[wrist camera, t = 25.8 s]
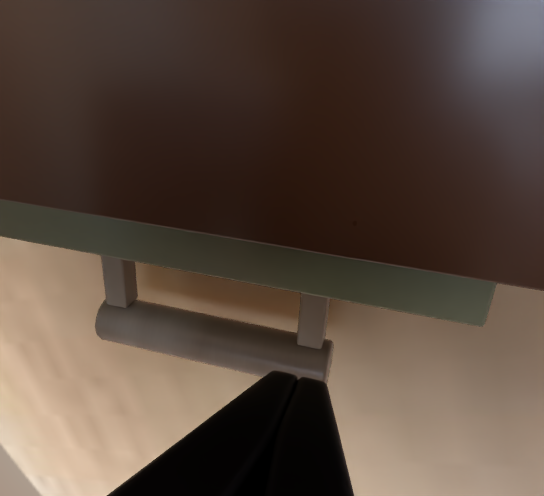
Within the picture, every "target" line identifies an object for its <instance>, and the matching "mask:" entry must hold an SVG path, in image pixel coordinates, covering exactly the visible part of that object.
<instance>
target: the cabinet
mask: <svg viewBox="0 0 544 496" xmlns="http://www.w3.org/2000/svg"><path fill="white" fill-rule="evenodd" d="M0 200H4V201H10V202H16V203H22V204H28V205H34V206H40V207H46V208H52V209H58V210H64V211H70V212H76V213H82V214H88V215H94V216H100V217H106V218H112V219H118V220H124V221H130V222H136V223H141V224H147V225H153V226H159V227H165V228H171V229H177V230H183V231H189V232H195V233H201V234H207V235H213V236H219V237H225V238H231V239H237V240H243V241H249V242H255V243H261V244H267V245H273V246H279V247H285V248H291V249H297V250H302V251H308V252H314V253H320V254H326V255H332V256H338V257H344V258H350V259H356V260H362V261H368V262H374V263H380V264H386V265H392V266H398V267H404V268H410V269H416V270H422V271H428V272H434V273H440V274H446V275H452V276H458V277H463V278H469V279H475V280H481V281H487V282H493V283H499V284H505V285H511V286H517V287H523V288H529V289H535V290H541V291H544V0H0Z"/></svg>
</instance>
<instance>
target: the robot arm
mask: <svg viewBox="0 0 544 496" xmlns="http://www.w3.org/2000/svg"><path fill="white" fill-rule="evenodd" d="M107 496H354V493H353V489H352V485H351V481H350V477H349V473H348V469H347V465H346V460H345V456H344V452H343V448H342V444H341V440H340V436H339V432H338V428H337V424H336V420H335V416H334V412H333V408H332V404H331V400H330V396H329V392H328V387H327V385H326V383H325V382H324V381H320V380H316V379H312V378H307V377H301V378H300V379H298V377H297V376H296V375H294V374H290V373H286V372H281V371H277V370H274V371H271V372H269V373H268V374H267V375H266V376H264V377H263V378H262V379H260V380H259V381H258V382H256V383H255V384H254V385H252V386H251V387H250V388H248V389H247V390H246V391H244V392H243V393H242V394H240V395H239V396H238V397H236V398H235V399H234V400H233V401H231V402H230V403H229V404H227V405H226V406H225V407H223V408H222V409H221V410H219V411H218V412H217V413H215V414H214V415H213V416H211V417H210V418H209V419H207V420H206V421H205V422H203V423H202V424H201V425H199V426H198V427H197V428H196V429H194V430H193V431H192V432H190V433H189V434H188V435H186V436H185V437H184V438H182V439H181V440H180V441H178V442H177V443H176V444H174V445H173V446H172V447H170V448H169V449H168V450H166V451H165V452H164V453H163V454H161V455H160V456H159V457H157V458H156V459H155V460H153V461H152V462H151V463H149V464H148V465H147V466H145V467H144V468H143V469H141V470H140V471H139V472H137V473H136V474H135V475H133V476H132V477H131V478H130V479H128V480H127V481H126V482H124V483H123V484H122V485H120V486H119V487H118V488H116V489H115V490H114V491H112V492H111V493H110V494H108V495H107Z"/></svg>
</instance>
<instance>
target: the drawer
mask: <svg viewBox="0 0 544 496" xmlns="http://www.w3.org/2000/svg"><path fill="white" fill-rule="evenodd" d="M0 236H2V237H7V238H12V239H18V240H23V241H28V242H33V243H39V244H44V245H49V246H55V247H60V248H65V249H71V250H76V251H81V252H86V253H92V254H97V255H101V259H102V268H103V276H104V285H105V294H106V299H105V300H104V302H103V303H102V304H101V306H100V308H99V310H98V313H97V317H96V323H95V328H96V333H97V335H98V336H99V337H100V338H101V339H102V340H107V341H111V342H115V343H119V344H124V345H128V346H132V347H137V348H141V349H145V350H149V351H154V352H158V353H162V354H167V355H171V356H175V357H179V358H184V359H188V360H192V361H196V362H201V363H205V364H209V365H214V366H218V367H222V368H226V369H231V370H235V371H239V372H244V373H248V374H252V375H256V376H261V377H264V376H266V375H267V374H268V373H269V372H271V371H274V370H277V371H281V372H286V373H290V374H294V375H296V376H297V377H298V379H300V378H301V377H307V378H312V379H316V380H320V381H324V382H325V383H326V385H327V381H328V377H329V372H330V367H331V362H332V355H333V346H334V345H333V341H331V340H327V339H325V336H326V328H327V320H328V311H329V303H330V298H331V299H336V300H341V301H346V302H352V303H357V304H362V305H368V306H373V307H378V308H384V309H389V310H394V311H400V312H405V313H410V314H415V315H421V316H426V317H431V318H437V319H442V320H447V321H453V322H458V323H463V324H469V325H474V326H479V327H481V326H483V325H484V324H485V322H486V318H487V315H488V312H489V308H490V305H491V301H492V298H493V295H494V291H495V288H496V284H497V283H493V282H487V281H481V280H475V279H469V278H463V277H458V276H452V275H446V274H440V273H434V272H428V271H422V270H416V269H410V268H404V267H398V266H392V265H386V264H380V263H374V262H368V261H362V260H356V259H350V258H344V257H338V256H332V255H326V254H320V253H314V252H308V251H302V250H297V249H291V248H285V247H279V246H273V245H267V244H261V243H255V242H249V241H243V240H237V239H231V238H225V237H219V236H213V235H207V234H201V233H195V232H189V231H183V230H177V229H171V228H165V227H159V226H153V225H147V224H141V223H136V222H130V221H124V220H118V219H112V218H106V217H100V216H94V215H88V214H82V213H76V212H70V211H64V210H58V209H52V208H46V207H40V206H34V205H28V204H22V203H16V202H10V201H4V200H0ZM135 262H140V263H145V264H150V265H155V266H161V267H166V268H171V269H177V270H182V271H187V272H193V273H198V274H203V275H209V276H214V277H219V278H224V279H230V280H235V281H240V282H246V283H251V284H256V285H262V286H267V287H272V288H278V289H283V290H288V291H293V292H299V293H301V300H300V311H299V322H298V333H294V332H289V331H284V330H279V329H274V328H270V327H265V326H260V325H255V324H250V323H246V322H241V321H236V320H231V319H226V318H222V317H217V316H212V315H207V314H203V313H198V312H193V311H188V310H183V309H179V308H174V307H169V306H164V305H159V304H155V303H150V302H145V301H140V300H136V299H137V297H138V294H137V281H136V269H135Z"/></svg>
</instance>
